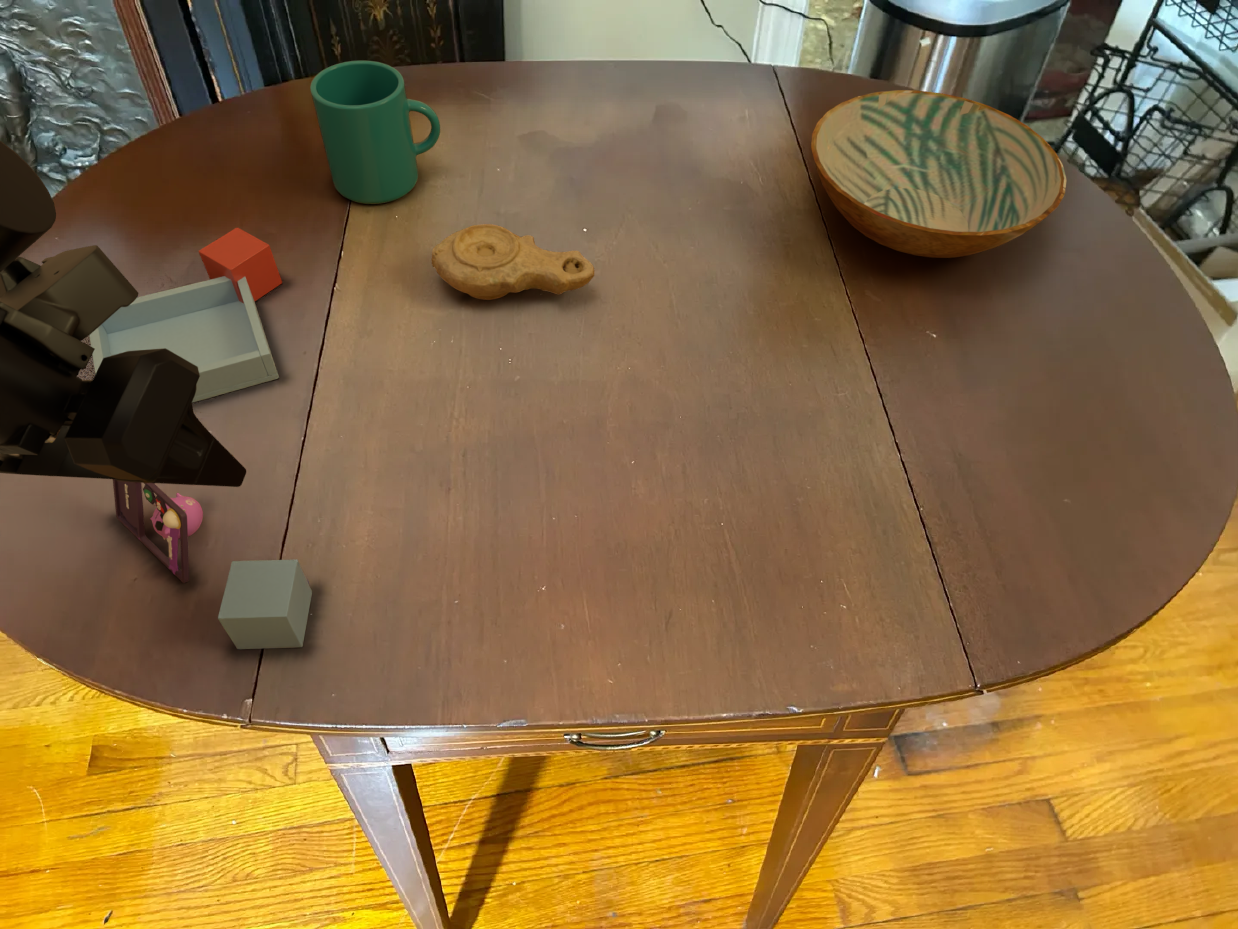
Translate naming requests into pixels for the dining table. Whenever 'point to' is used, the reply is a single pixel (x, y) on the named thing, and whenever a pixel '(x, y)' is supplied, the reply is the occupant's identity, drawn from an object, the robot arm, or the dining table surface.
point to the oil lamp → (506, 264)
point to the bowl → (935, 172)
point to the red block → (242, 262)
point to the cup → (369, 130)
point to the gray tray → (195, 334)
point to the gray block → (266, 604)
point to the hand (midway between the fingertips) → (195, 475)
